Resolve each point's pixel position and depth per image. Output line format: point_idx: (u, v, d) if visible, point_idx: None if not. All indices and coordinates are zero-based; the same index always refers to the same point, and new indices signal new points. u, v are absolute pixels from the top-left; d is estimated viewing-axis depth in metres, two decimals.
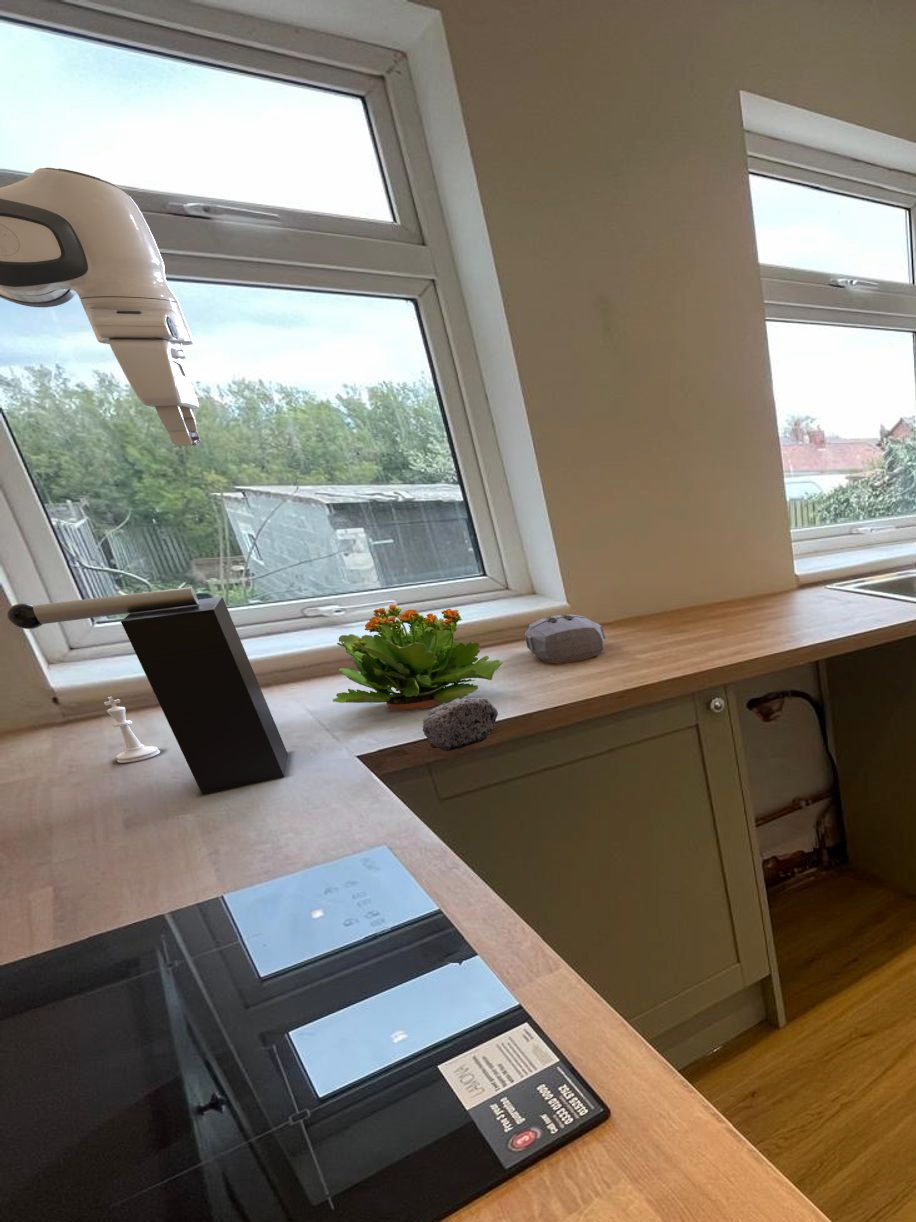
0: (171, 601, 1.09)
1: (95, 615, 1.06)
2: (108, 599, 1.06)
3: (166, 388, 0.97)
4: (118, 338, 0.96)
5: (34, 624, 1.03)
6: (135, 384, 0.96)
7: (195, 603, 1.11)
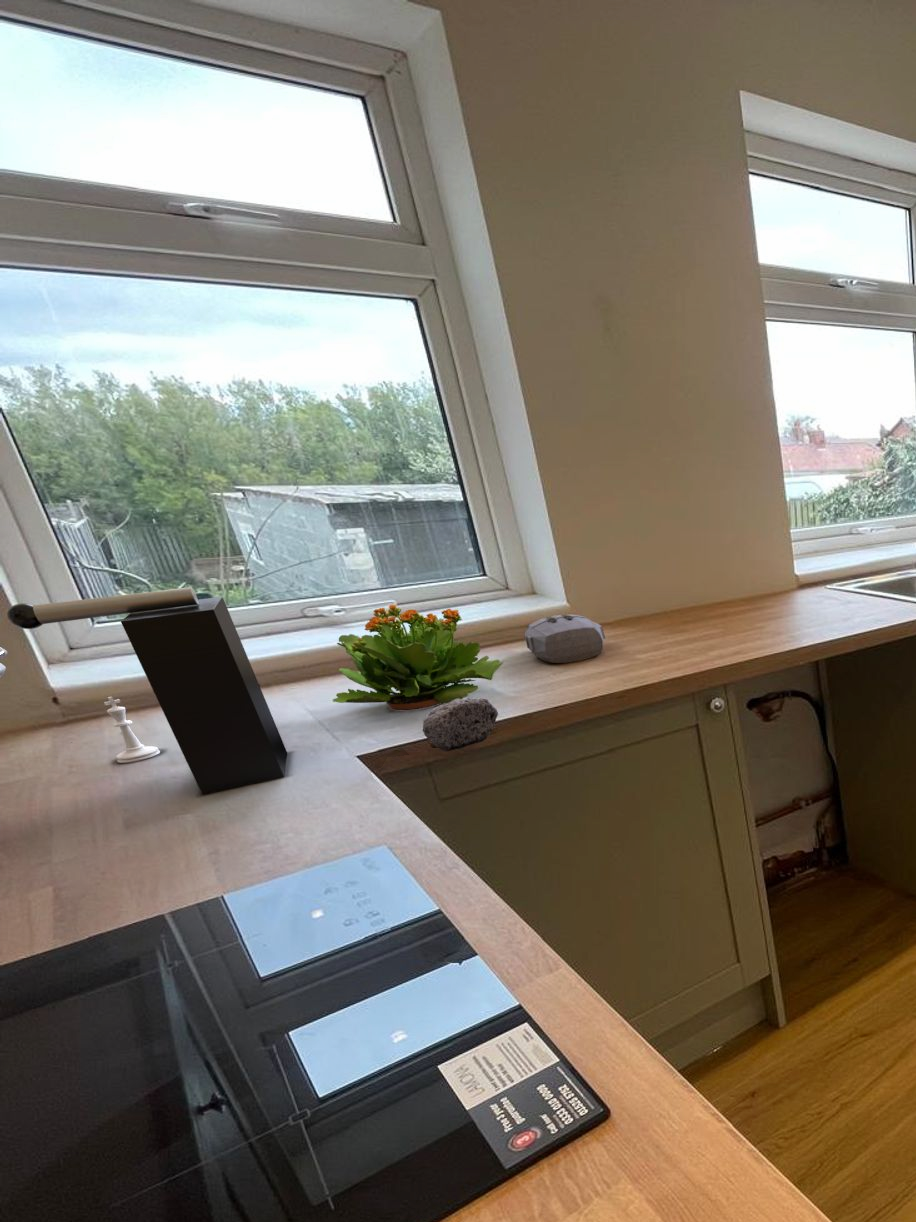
0: (171, 601, 1.09)
1: (95, 615, 1.06)
2: (108, 599, 1.06)
3: None
4: None
5: (34, 624, 1.03)
6: None
7: (195, 603, 1.11)
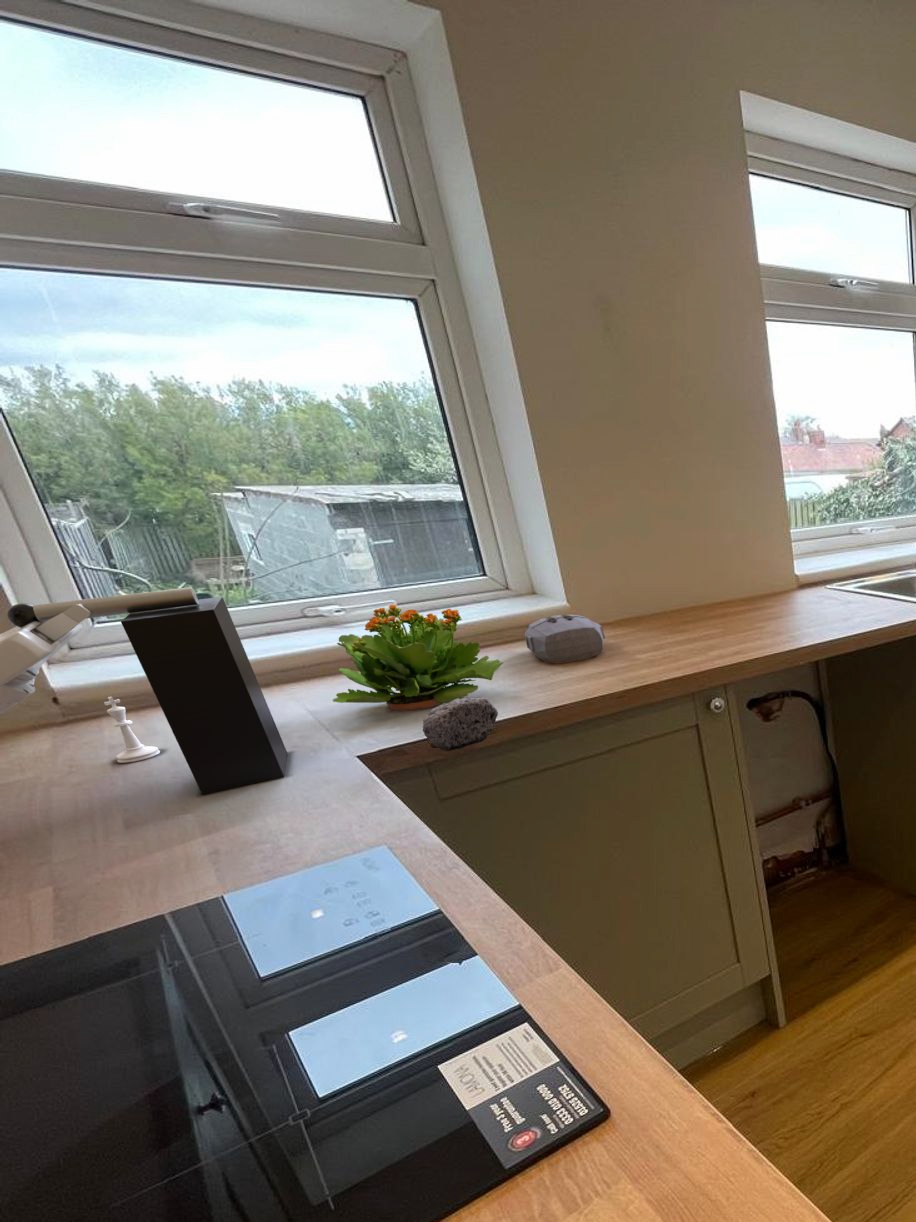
0: (171, 601, 1.09)
1: (95, 615, 1.06)
2: (108, 599, 1.06)
3: None
4: None
5: None
6: None
7: (195, 603, 1.11)
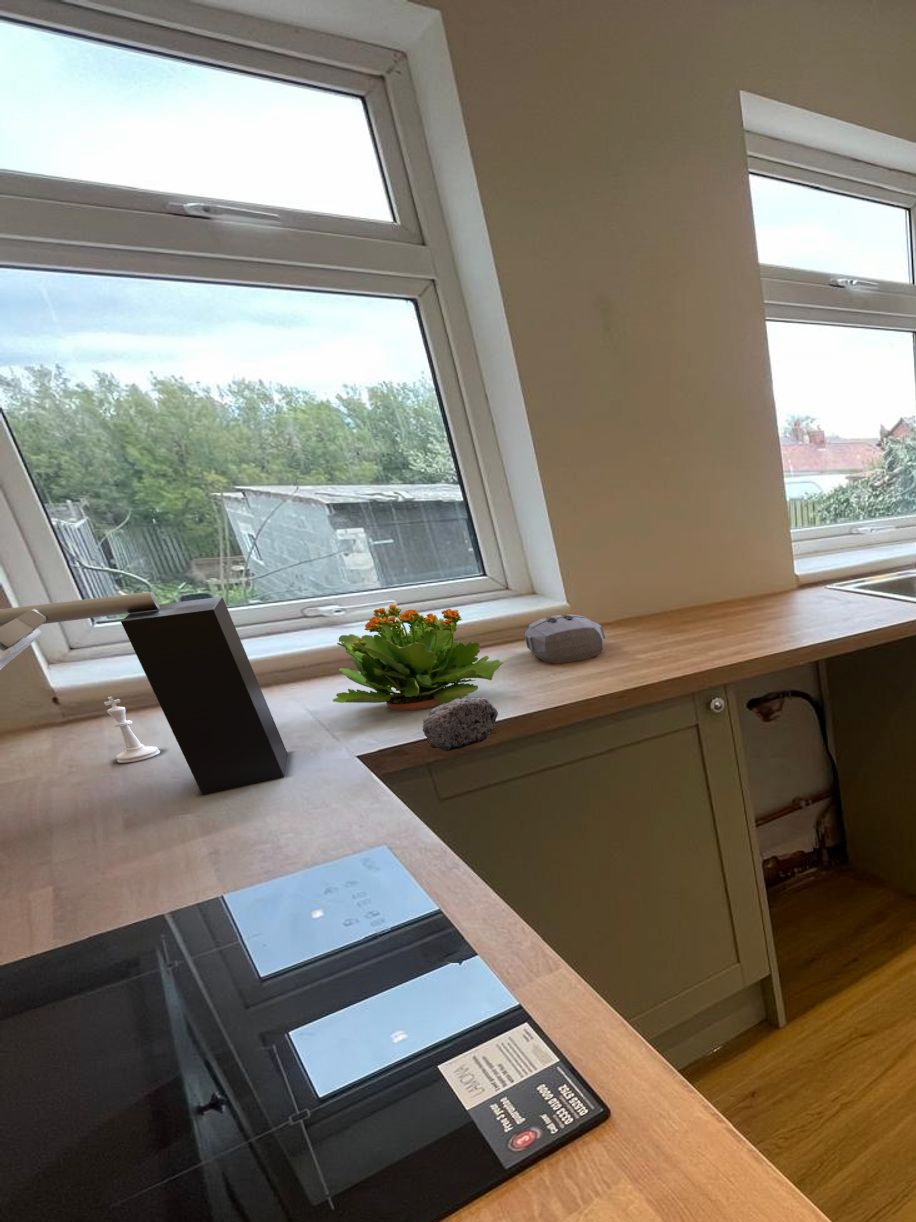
0: (130, 606, 1.07)
1: (51, 620, 1.04)
2: (64, 604, 1.04)
3: None
4: None
5: None
6: None
7: (156, 608, 1.09)
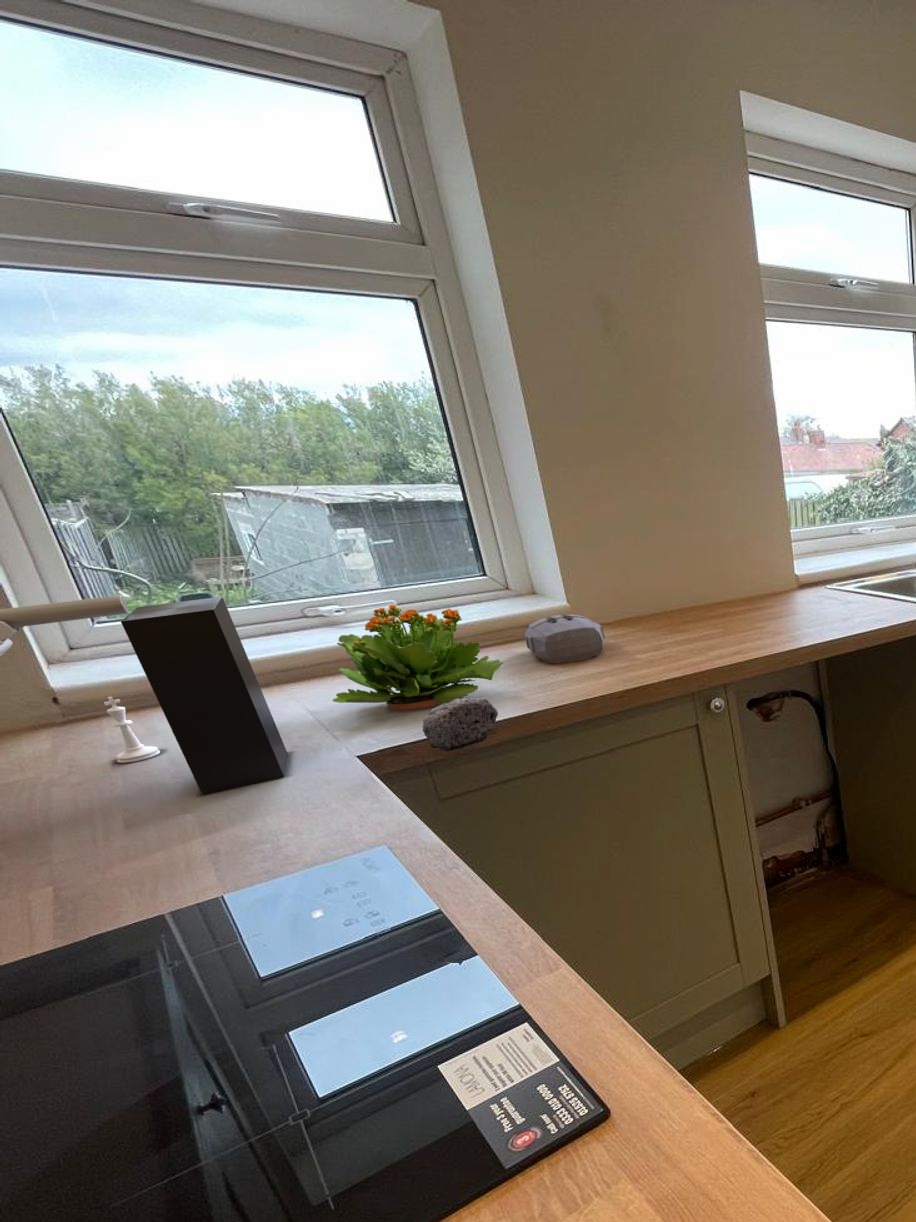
0: (98, 610, 1.06)
1: (17, 625, 1.02)
2: (30, 608, 1.02)
3: None
4: None
5: None
6: None
7: (125, 612, 1.07)
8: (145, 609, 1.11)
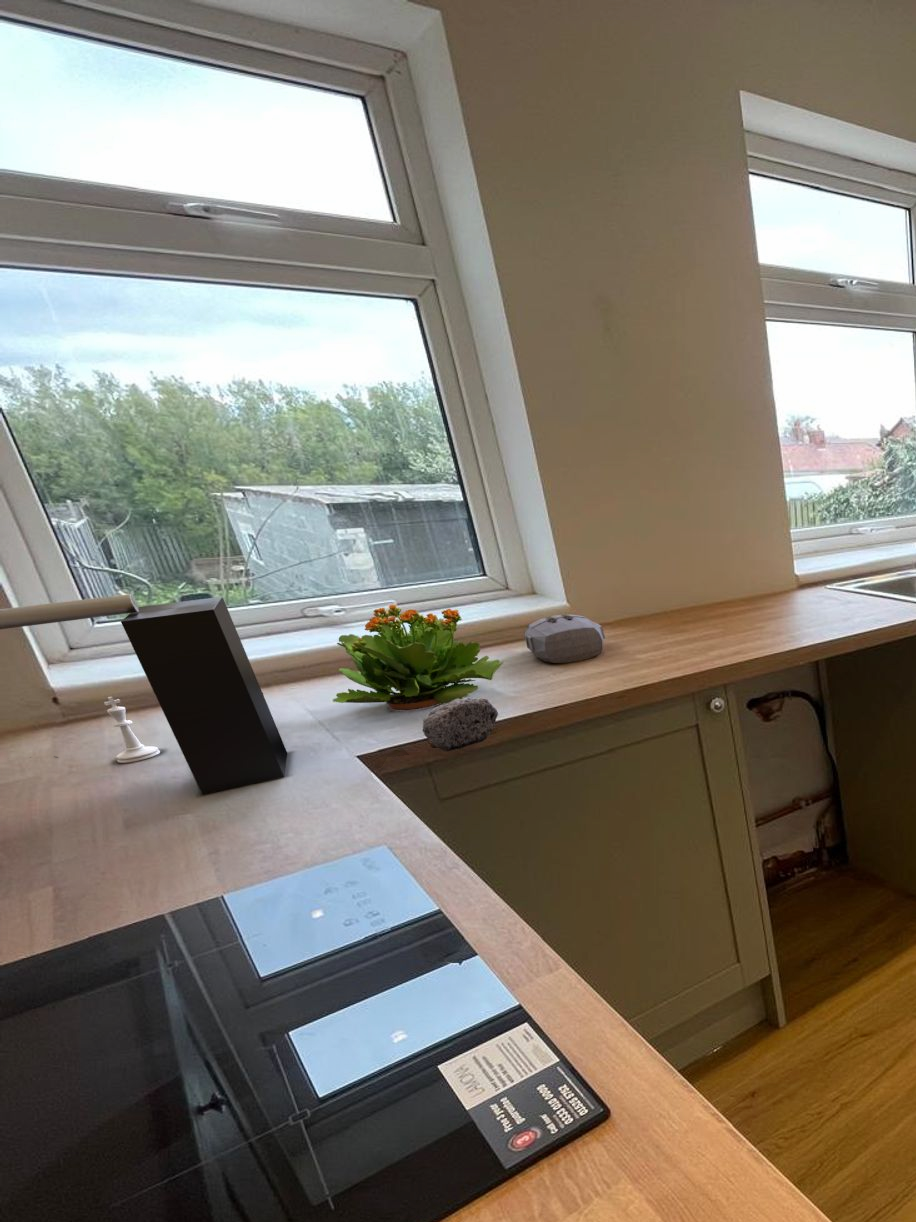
0: (108, 608, 1.06)
1: (28, 623, 1.02)
2: (41, 607, 1.03)
3: None
4: None
5: None
6: None
7: (134, 611, 1.08)
8: (145, 609, 1.11)
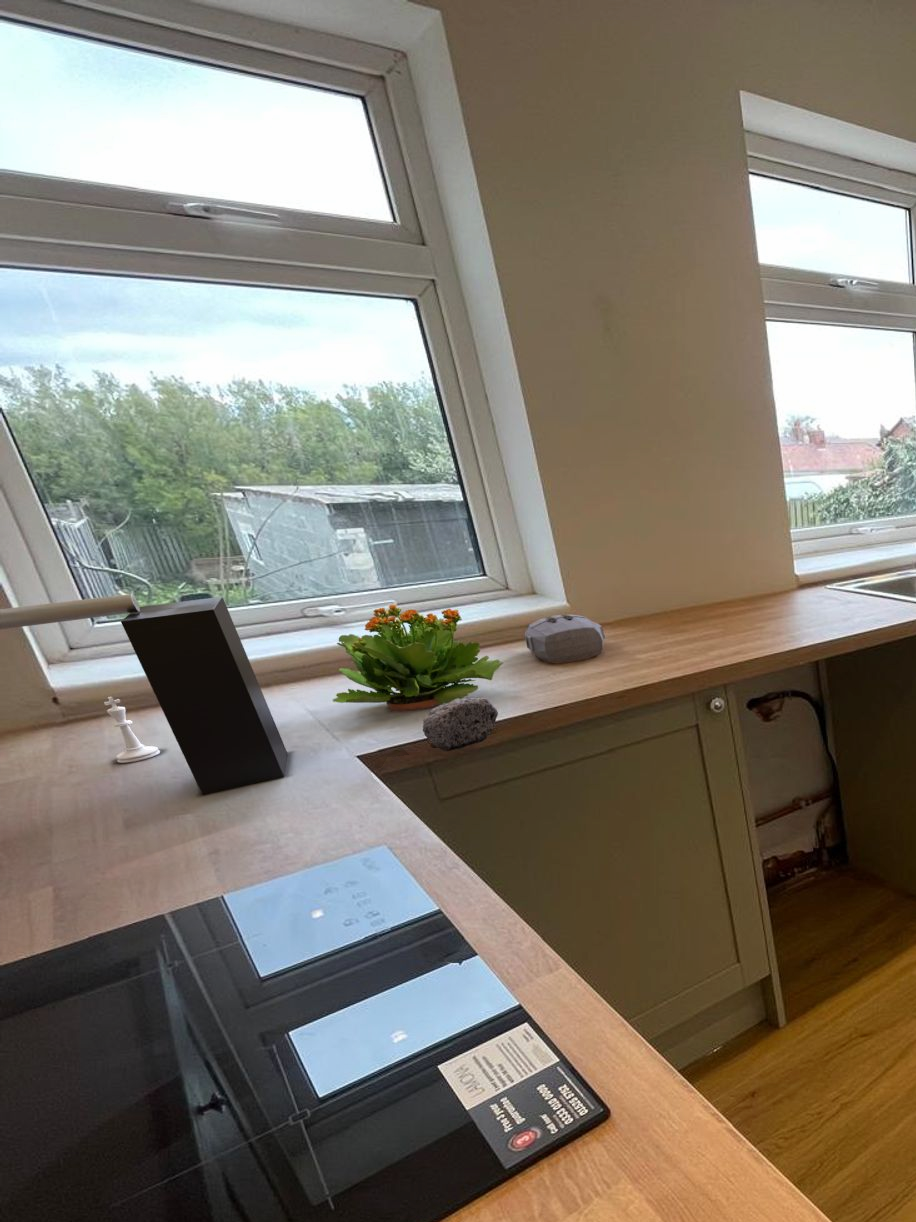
0: (109, 608, 1.06)
1: (29, 623, 1.02)
2: (43, 607, 1.03)
3: None
4: None
5: None
6: None
7: (136, 610, 1.08)
8: (145, 609, 1.11)
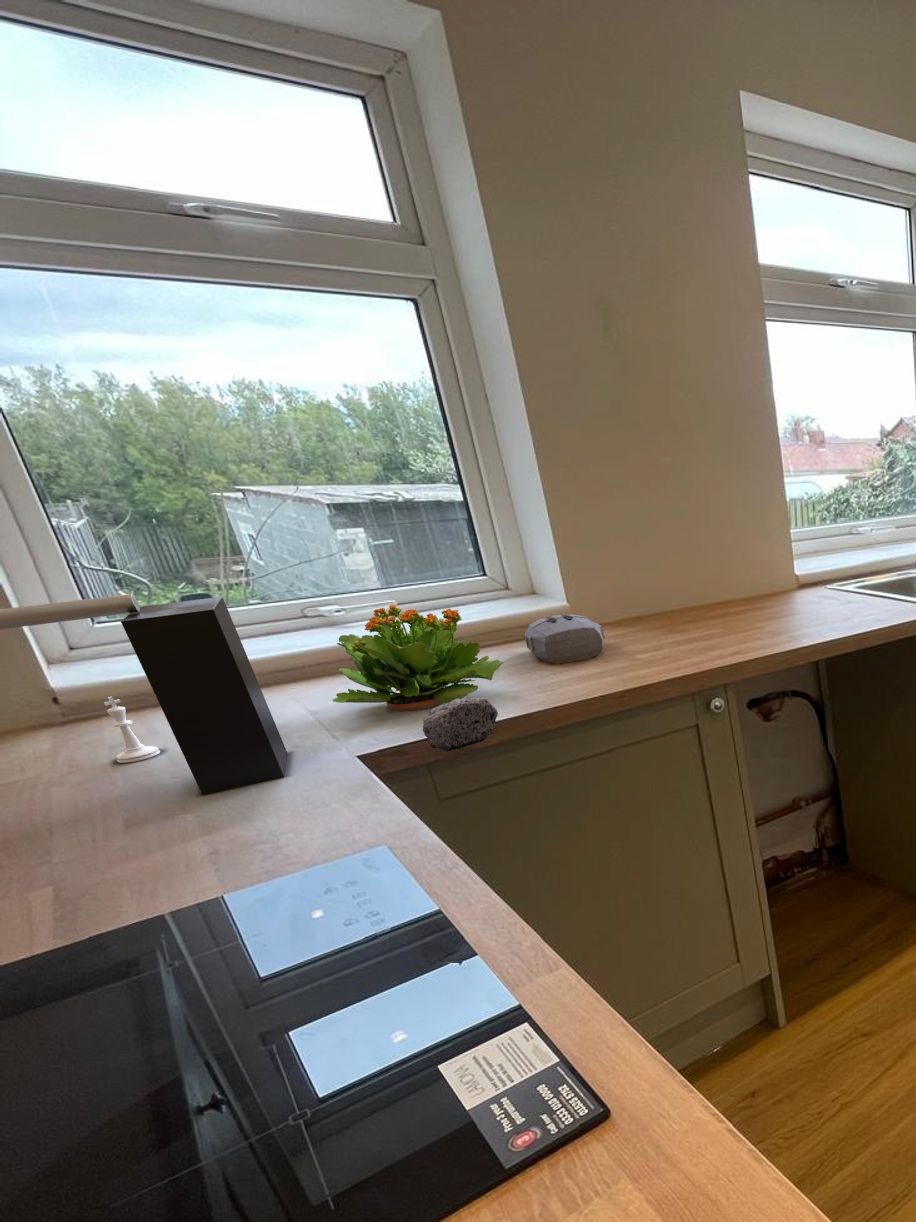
0: (109, 608, 1.06)
1: (29, 623, 1.02)
2: (43, 607, 1.03)
3: None
4: None
5: None
6: None
7: (136, 610, 1.08)
8: (145, 609, 1.11)
